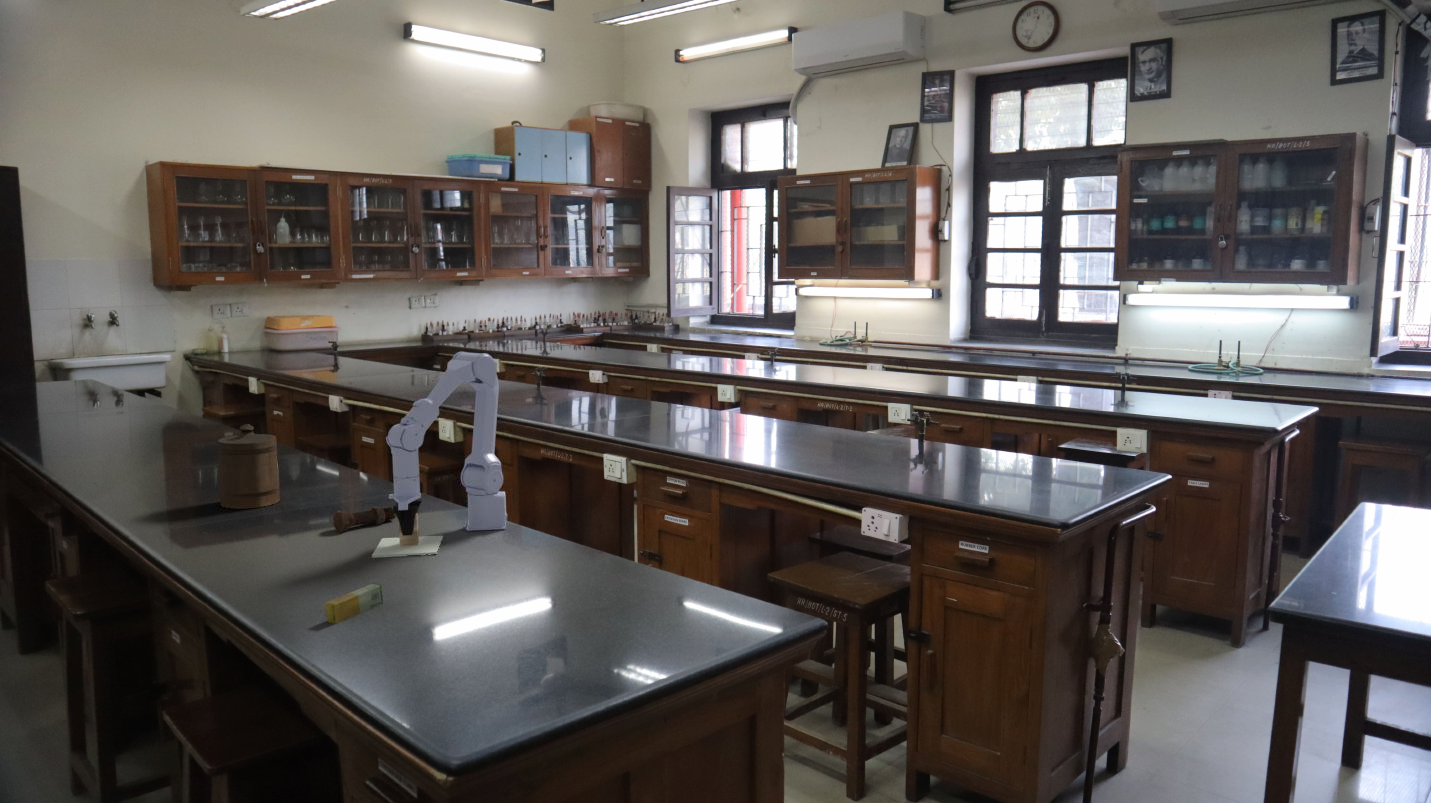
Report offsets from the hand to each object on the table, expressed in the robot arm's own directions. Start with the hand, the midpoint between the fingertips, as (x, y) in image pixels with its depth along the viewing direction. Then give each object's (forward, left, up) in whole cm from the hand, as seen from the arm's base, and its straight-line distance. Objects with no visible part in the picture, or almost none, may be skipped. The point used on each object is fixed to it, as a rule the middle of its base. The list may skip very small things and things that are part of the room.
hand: (408, 532), depth 226 cm
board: (0, +1, -3) cm, 3 cm away
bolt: (+13, -21, -4) cm, 25 cm away
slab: (0, 0, -3) cm, 3 cm away
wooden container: (+49, -51, -3) cm, 71 cm away
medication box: (+4, +44, -4) cm, 44 cm away
